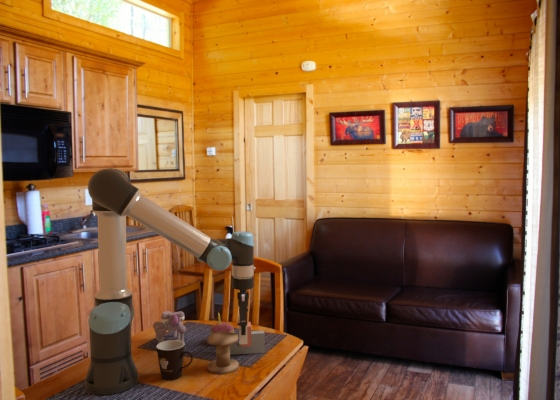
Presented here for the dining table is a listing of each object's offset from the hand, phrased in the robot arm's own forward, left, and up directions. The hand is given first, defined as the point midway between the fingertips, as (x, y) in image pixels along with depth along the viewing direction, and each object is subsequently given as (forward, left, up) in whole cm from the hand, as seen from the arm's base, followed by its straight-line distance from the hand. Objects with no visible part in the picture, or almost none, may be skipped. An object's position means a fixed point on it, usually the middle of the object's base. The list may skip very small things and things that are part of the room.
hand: (243, 336), depth 170 cm
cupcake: (-8, +11, -6) cm, 15 cm away
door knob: (-7, -12, -6) cm, 15 cm away
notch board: (0, 0, -6) cm, 6 cm away
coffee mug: (-22, -18, -6) cm, 29 cm away
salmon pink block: (+1, 0, -3) cm, 3 cm away
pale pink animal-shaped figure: (-26, +10, -6) cm, 29 cm away
